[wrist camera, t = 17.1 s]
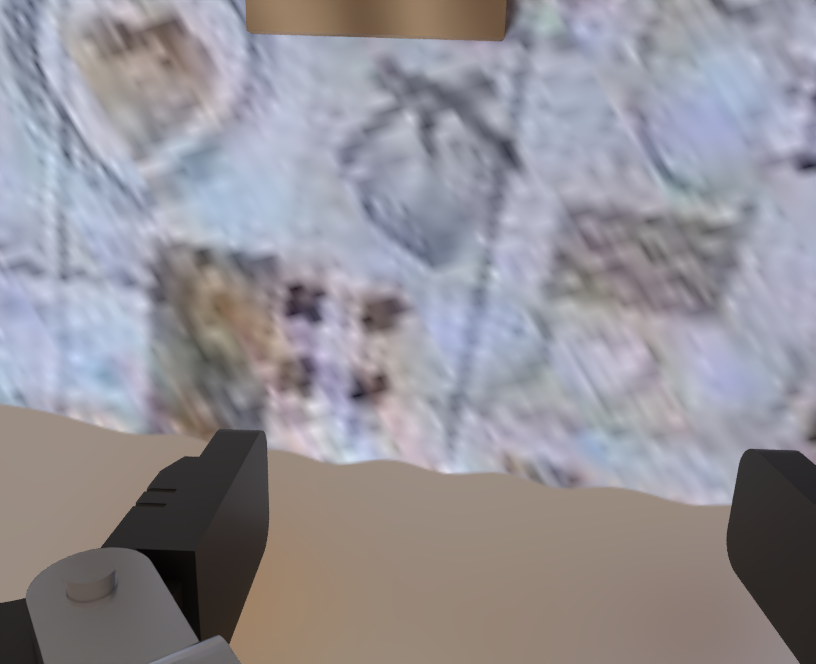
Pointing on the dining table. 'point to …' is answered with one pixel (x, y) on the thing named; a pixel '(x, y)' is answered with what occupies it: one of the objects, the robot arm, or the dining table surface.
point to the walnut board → (380, 18)
